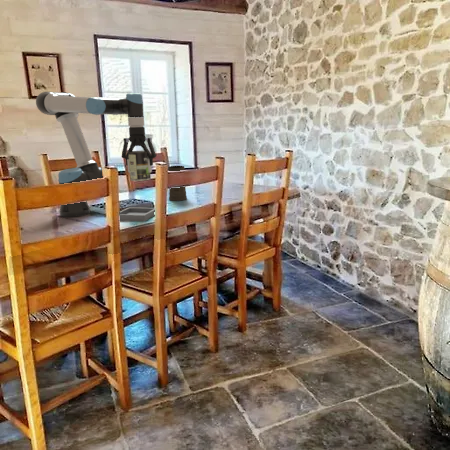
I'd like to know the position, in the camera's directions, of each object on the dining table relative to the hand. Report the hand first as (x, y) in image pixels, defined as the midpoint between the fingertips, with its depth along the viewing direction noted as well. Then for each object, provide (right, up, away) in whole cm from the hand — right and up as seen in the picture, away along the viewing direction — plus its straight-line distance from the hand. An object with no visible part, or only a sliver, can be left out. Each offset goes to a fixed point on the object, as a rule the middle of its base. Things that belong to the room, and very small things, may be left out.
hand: (140, 172), depth 196 cm
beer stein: (+14, -11, +42) cm, 45 cm away
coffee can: (0, -4, +1) cm, 4 cm away
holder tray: (-1, -22, -1) cm, 23 cm away
